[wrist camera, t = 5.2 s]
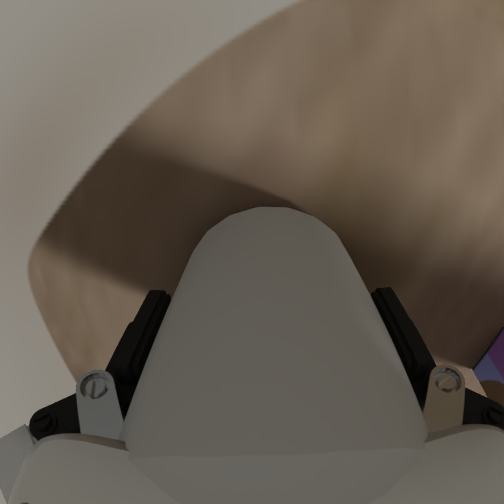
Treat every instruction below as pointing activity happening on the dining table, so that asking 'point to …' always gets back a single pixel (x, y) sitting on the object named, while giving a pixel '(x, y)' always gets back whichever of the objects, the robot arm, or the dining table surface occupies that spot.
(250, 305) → the can
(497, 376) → the cereal box
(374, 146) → the dining table surface
